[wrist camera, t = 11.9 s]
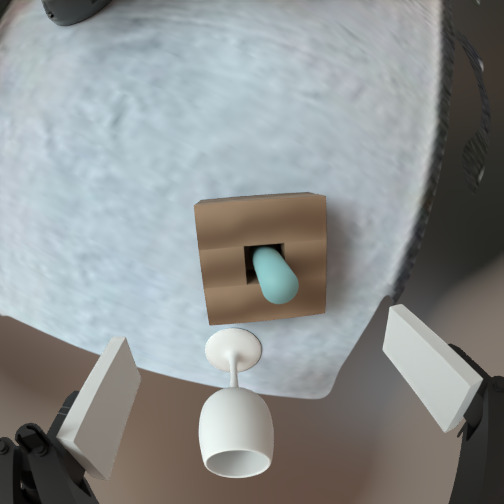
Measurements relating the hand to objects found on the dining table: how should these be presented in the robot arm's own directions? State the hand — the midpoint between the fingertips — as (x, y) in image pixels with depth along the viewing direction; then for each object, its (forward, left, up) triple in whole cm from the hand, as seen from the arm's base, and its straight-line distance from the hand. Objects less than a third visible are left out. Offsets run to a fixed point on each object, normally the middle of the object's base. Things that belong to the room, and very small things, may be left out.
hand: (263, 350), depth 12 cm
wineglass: (+18, -3, -25) cm, 31 cm away
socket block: (+2, +2, -25) cm, 25 cm away
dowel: (+2, +2, -23) cm, 23 cm away
